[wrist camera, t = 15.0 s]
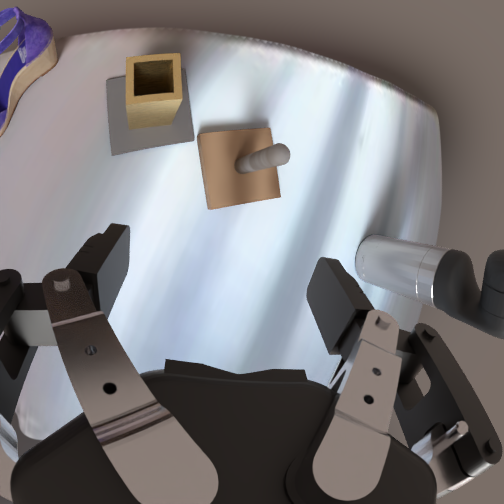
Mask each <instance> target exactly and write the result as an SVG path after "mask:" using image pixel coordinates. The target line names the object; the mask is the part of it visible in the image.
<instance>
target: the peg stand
mask: <svg viewBox="0 0 504 504" xmlns="http://www.w3.org/2000/svg"><path fill="white" fill-rule="evenodd" d="M197 143H198V150H199V156H200V163H201V169H202V176H203V182H204V188H205V194H206V200H207V206H208V209H210V210H213V209H218V208H223V207H228V206H234V205H239V204H245V203H250V202H256V201H262V200H268V199H274V198H280V197H281V195H280V188H279V181H278V174H277V167H276V166H280V165H284V164H286V163H287V162H288V161H289V159H290V151H289V149H288V148H287V146H285V145H284V144H281V143H277V144H274V145H273V141H272V135H271V129H270V128H257V129H242V130H230V131H220V132H210V133H202V134H199V135H198V136H197Z"/></svg>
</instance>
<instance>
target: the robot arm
mask: <svg viewBox="0 0 504 504" xmlns="http://www.w3.org/2000/svg"><path fill="white" fill-rule="evenodd" d="M129 249H130V227H129V226H127V225H121V224H114V223H111V224H110V226H109V227H108V228H107V230H106V231H105V232H104V233H103V234H101V233H97V234H96V235H94V236H92V237H90V238H89V239H88V240H87V241H86V242H85V244H84V245H83V246H82V247H81V249H80V250H79V252H77V254H76V255H75V256H74V258H73V259H72V260H71V261H70V263H69V264H68V265H67V267H66V268H61V269H56V270H53V271H51V272H49V273H48V274H47V275H46V276H45V277H44V278H43V280H42V283H23V282H22V278H21V275H20V273H19V272H18V271H16V270H13V269H4V270H0V335H1V334H2V332H3V331H4V334H3V336H2V338H1V340H0V495H1V496H2V497H4V498H6V499H8V500H10V501H12V502H13V504H436V499H438V498H440V497H442V496H444V495H446V494H448V493H450V492H452V491H454V490H455V489H457V488H459V487H461V486H462V485H464V484H466V483H467V482H469V481H471V480H472V479H474V478H476V477H477V476H479V475H480V474H482V473H483V472H485V471H486V470H488V469H489V468H491V467H492V466H493V465H495V464H496V463H497V462H499V460H500V459H501V456H502V445H501V442H500V440H499V438H498V436H497V433H496V432H495V429H494V427H493V425H492V423H491V421H490V419H489V417H488V415H487V413H486V412H485V410H484V408H483V406H482V404H481V402H480V400H479V399H478V397H477V395H476V393H475V391H474V390H473V388H472V386H471V384H470V383H469V381H468V379H467V378H466V376H465V374H464V373H463V371H462V369H461V368H460V366H459V364H458V363H457V361H456V360H455V358H454V356H453V355H452V353H451V352H450V350H449V349H448V347H447V346H446V344H445V343H444V341H443V340H442V338H441V337H440V335H439V334H438V332H437V331H436V330H434V329H433V328H432V327H430V326H429V325H426V324H423V323H419V324H416V326H415V327H414V329H413V330H412V332H408V331H404V330H401V329H399V325H398V323H397V321H396V320H395V319H394V318H393V317H392V316H391V315H389V314H387V313H386V312H383V311H380V310H375V309H374V307H373V306H372V304H371V303H370V301H369V300H368V298H367V297H366V295H365V294H364V293H363V291H362V289H361V288H360V287H359V285H358V283H357V282H356V280H355V279H354V278H353V277H352V276H351V275H350V274H348V273H347V272H346V271H345V269H344V268H343V266H342V265H341V263H340V262H339V260H337V259H331V258H325V257H321V258H320V259H319V260H318V262H317V265H316V267H315V270H314V272H313V275H312V278H311V280H310V283H309V285H308V288H307V301H308V303H309V306H310V308H311V311H312V313H313V315H314V318H315V320H316V323H317V325H318V328H319V330H320V333H321V335H322V338H323V340H324V343H325V345H326V348H327V350H328V353H329V355H341V356H342V357H341V359H340V360H339V362H338V364H337V366H336V368H335V370H334V372H333V374H332V376H331V378H330V381H329V383H328V385H327V387H326V386H324V385H322V384H320V383H317V382H314V381H311V380H307V377H306V373H305V370H293V369H270V370H265V371H259V372H253V373H246V374H235V373H231V372H228V371H224V370H221V369H217V368H214V367H211V366H207V365H204V364H200V363H192V362H184V361H176V360H169V359H166V361H165V369H161V370H153V371H148V372H145V373H141V374H139V373H138V372H137V370H136V369H135V367H134V365H133V364H132V362H131V361H130V359H129V357H128V356H127V354H126V352H125V351H124V349H123V347H122V345H121V344H120V342H119V340H118V338H117V337H116V335H115V333H114V331H113V329H112V328H111V326H110V324H109V322H108V320H107V319H108V317H109V314H110V312H111V309H112V307H113V305H114V302H115V300H116V298H117V295H118V293H119V291H120V288H121V286H122V284H123V282H124V279H125V277H126V275H127V272H128V267H129ZM355 266H356V271H357V274H358V276H359V278H360V279H361V280H363V281H364V282H367V283H370V284H372V285H375V286H378V287H380V288H383V289H386V290H389V291H391V292H394V293H397V294H399V295H402V296H405V297H408V298H410V299H413V300H416V301H418V302H421V303H424V304H427V305H429V306H432V307H435V308H437V309H440V310H442V311H444V312H445V313H447V314H448V315H449V316H451V317H453V318H455V319H457V320H459V321H462V322H464V323H466V324H468V325H470V326H473V327H475V328H477V329H479V330H481V331H483V332H485V333H487V334H489V335H492V336H494V337H497V338H501V339H504V250H498V251H494V252H493V253H492V254H490V256H489V257H488V259H487V262H486V266H485V272H484V278H483V285H482V291H480V289H479V287H478V285H477V282H476V279H475V275H474V270H473V265H472V261H471V259H470V257H469V256H468V255H467V254H466V253H465V252H462V251H458V250H453V249H448V248H443V247H438V246H433V245H428V244H423V243H418V242H413V241H407V240H402V239H397V238H392V237H387V236H381V235H370V236H368V237H367V238H366V239H365V240H363V242H362V243H361V245H360V247H359V249H358V251H357V254H356V262H355ZM38 346H58V348H59V351H60V354H61V357H62V360H63V362H64V365H65V368H66V371H67V373H68V376H69V378H70V381H71V383H72V386H73V388H74V391H75V393H76V395H77V398H78V400H79V402H80V404H81V406H82V409H83V411H84V412H83V413H81V414H80V415H78V416H77V417H76V418H74V419H73V420H71V421H70V422H68V423H67V424H66V425H64V426H63V427H61V428H60V429H59V430H57V431H56V432H54V433H53V434H51V435H50V436H48V437H47V438H46V439H44V440H43V441H41V442H40V443H38V444H37V445H36V446H34V447H32V448H31V449H29V450H28V451H27V452H25V453H24V454H23V455H22V456H21V457H20V458H18V450H17V443H18V442H17V436H16V433H15V431H14V429H13V427H12V426H11V421H12V418H13V415H14V411H15V408H16V405H17V402H18V399H19V396H20V393H21V390H22V387H23V384H24V381H25V379H26V376H27V373H28V371H29V368H30V365H31V363H32V360H33V358H34V356H35V353H36V351H37V348H38ZM423 367H424V369H425V371H426V373H427V375H428V376H429V379H430V381H431V387H430V390H429V392H428V393H427V394H426V395H425V396H423V394H422V392H421V390H420V388H419V386H418V384H417V382H416V380H415V376H416V375H417V374H418V373H419V372H420V371H421V369H422V368H423ZM393 407H394V409H395V412H396V415H397V417H398V420H399V422H400V425H401V428H402V430H403V433H404V435H405V438H406V441H407V444H408V447H409V448H407V447H406V446H404V445H403V444H402V443H400V442H399V441H398V440H396V439H395V438H394V437H392V436H391V435H390V434H388V427H389V423H390V418H391V415H392V410H393Z"/></svg>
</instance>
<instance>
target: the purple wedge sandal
mask: <svg viewBox="0 0 504 504" xmlns="http://www.w3.org/2000/svg"><path fill="white" fill-rule="evenodd" d="M14 16H16V19H17V23H16V25H15V26H14V28H13V29H12V30H11V31H10V33H9V34H8V35H7V36H6V37H5V38H4V39H3V40H2V41H1V42H0V54H1V53H2V52H3V51H4V50H5V49H6V48H7V47H8V46H9V45H10V44H11V43H12V42H13V41H14V40H15V39H16V38H17V36H18V47H17V48H16V50H15V51H14V52H13V54H12V55H11V57H10V58H9V60H8V61H7V63H6V65H5V67H4V69H3V71H2V73H1V75H0V137H1V136H2V135H3V133H4V132H5V130H6V128H7V126H8V124H9V122H10V119H11V117H12V115H13V112H14V110H15V107H16V105H17V103H18V101H19V99H20V97H21V96H22V94H23V93H24V92H25V90H26V89H27V88H28V87H29V86H30V85H31V84H32V83H33V82H34V81H35V80H37V79H38V78H39V77H40V76H44V75H45V74H46V73H47V72H49V71H50V70H51V69H53V68H54V67H55V66H56V64H57V63H58V57H57V52H56V47H55V41H54V35H53V31H52V28H51V27H50V26H49V25H48V23H46V21H44V20H42V19H40V18H36V17H32V16H30V15H27V14H24V13H23V12H22V10H20V9H19V8H18V7H14V8H8V9H5V10H3V11H1V12H0V26H2V25H3V24H4V23H6V22H7V21H8V20H9V19H11V18H12V17H14ZM0 29H1V27H0Z"/></svg>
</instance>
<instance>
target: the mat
mask: <svg viewBox="0 0 504 504" xmlns="http://www.w3.org/2000/svg"><path fill="white" fill-rule="evenodd" d="M181 81H182V98H183V99H182V101H181V104H180V106H179V108H178V110H177V112H176V115H175V117H174V119H173V122H172V124H171V125H164V126H155V127H147V128H139V129H132V130H129V126H128V119H127V111H126V76H125V77H119V78H114V79H109V80H106V86H107V107H108V122H109V133H110V143H111V152H112V156H114V155H118V154H123V153H128V152H132V151H137V150H142V149H148V148H153V147H159V146H165V145H171V144H177V143H184V142H190V141H194V135H193V128H192V120H191V113H190V105H189V97H188V89H187V81H186V72H185V69H181ZM157 94H162V93H157ZM147 95H151V94H147ZM139 96H142V95H139Z"/></svg>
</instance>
